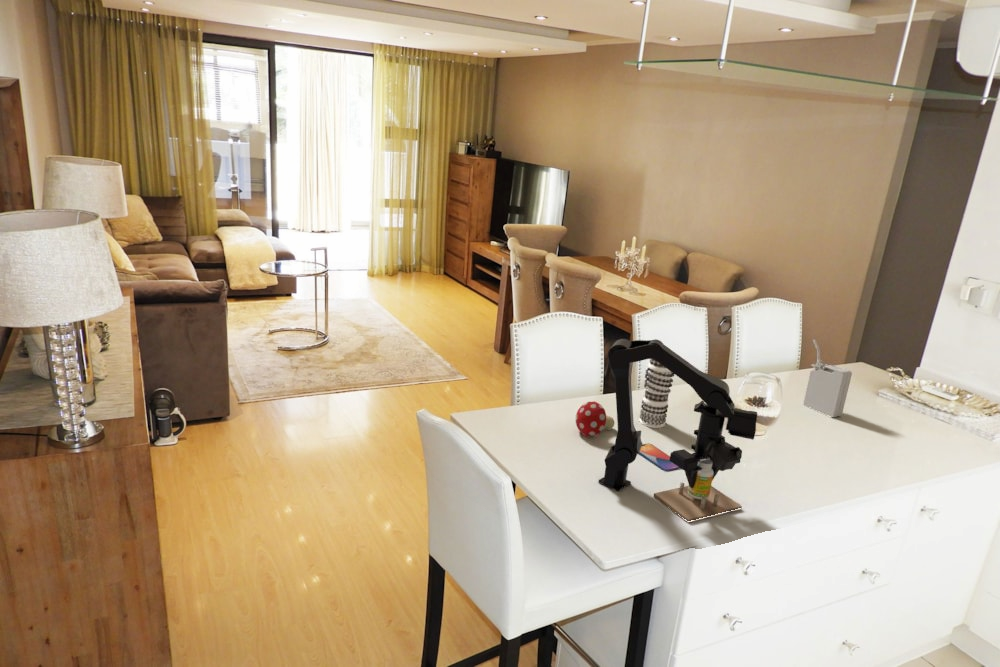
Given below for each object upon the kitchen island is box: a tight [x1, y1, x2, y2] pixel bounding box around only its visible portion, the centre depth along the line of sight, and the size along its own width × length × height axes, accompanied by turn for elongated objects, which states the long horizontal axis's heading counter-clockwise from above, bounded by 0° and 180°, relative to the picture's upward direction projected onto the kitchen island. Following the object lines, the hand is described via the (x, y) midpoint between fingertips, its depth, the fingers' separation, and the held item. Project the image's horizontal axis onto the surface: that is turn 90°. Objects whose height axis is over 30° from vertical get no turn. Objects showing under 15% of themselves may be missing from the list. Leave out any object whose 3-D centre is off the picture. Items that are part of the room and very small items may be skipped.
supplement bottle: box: [687, 459, 714, 499], centre depth 169 cm, size 5×5×10 cm
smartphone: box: [638, 443, 681, 472], centre depth 195 cm, size 7×15×1 cm, turn 28°
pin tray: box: [653, 482, 743, 521], centre depth 171 cm, size 18×13×4 cm
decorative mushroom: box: [575, 401, 616, 438], centre depth 208 cm, size 11×11×15 cm
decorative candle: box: [638, 359, 675, 429], centre depth 216 cm, size 9×9×25 cm
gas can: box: [803, 338, 853, 418], centre depth 240 cm, size 15×5×25 cm, turn 26°
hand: (699, 485), depth 170 cm, fingers closed on supplement bottle, 5 cm apart
